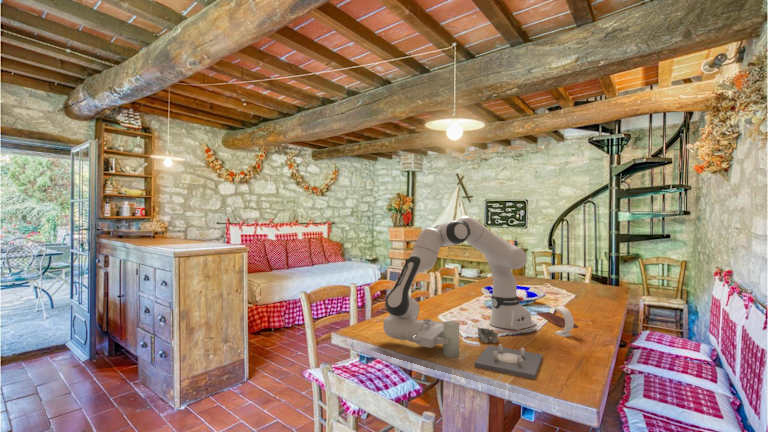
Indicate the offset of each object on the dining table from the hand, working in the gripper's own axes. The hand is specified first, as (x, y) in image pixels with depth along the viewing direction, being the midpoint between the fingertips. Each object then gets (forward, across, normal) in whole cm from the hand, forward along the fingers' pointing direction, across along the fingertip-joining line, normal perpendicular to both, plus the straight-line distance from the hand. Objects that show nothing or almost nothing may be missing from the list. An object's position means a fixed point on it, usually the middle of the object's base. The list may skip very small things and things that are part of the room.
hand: (453, 337), depth 140 cm
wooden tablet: (+30, +71, +8) cm, 77 cm away
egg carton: (+7, +24, +7) cm, 26 cm away
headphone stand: (+36, +46, +7) cm, 59 cm away
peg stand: (+20, +3, +7) cm, 22 cm away
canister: (-1, 0, +7) cm, 7 cm away
